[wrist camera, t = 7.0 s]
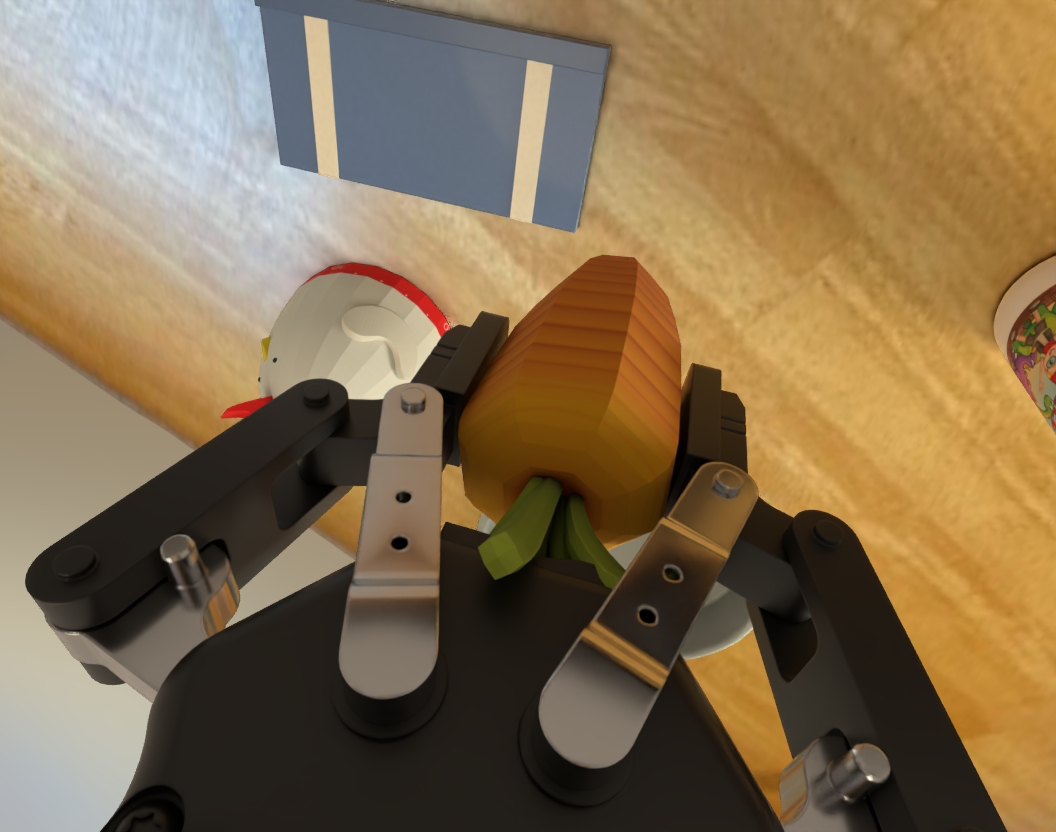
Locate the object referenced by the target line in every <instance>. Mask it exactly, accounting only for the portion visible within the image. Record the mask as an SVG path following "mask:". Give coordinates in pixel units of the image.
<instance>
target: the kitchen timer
mask: <svg viewBox="0 0 1056 832" xmlns="http://www.w3.org/2000/svg"><path fill="white" fill-rule="evenodd" d="M450 329H451V328H450V326H449V324H448V323H447V321H446V319H445V317H444V315H443V314H442V313H441V311H440V310H439V309H438V308H437V307H436V306H435V304H434V303H433V302H432V301H431V300H430V299H429V297H428V296H427V295H426V294H425V293H423V292H422V291H421V290H419V289H418V288H417V287H415V286H414V285H412V284H411V283H410V282H408V281H407V280H406V279H404V278H403V277H401V276H398V275H396V274H394V273H391V272H389V271H387V270H384V269H382V268H380V267H377V266H370V265H364V264H357V263H348V264H342V265H336V266H330V267H328V268H326V269H325V270H323V271H321V272H320V273H318V274H316V275H314V276H313V277H311V278H310V279H309V280H308V281H306V282H305V283H304V284H303V285H301V286H300V287H299V288H298V290H297V291H296V292H295V293H294V295H293V296H292V297H291V299H290V300H289V302H288V303H287V304H286V306H285V307H284V308H283V310H282V311H281V313H280V314H279V316H278V318H277V320H276V322H275V324H274V326H273V328H272V330H271V333H270V335H269V337H268V338H265V339H262V340H261V345H262V352H263V356H262V361H261V366H260V371H259V379H258V381H259V393H260V399H256V400H252V401H248V402H244V403H240V404H237V405H235V406H232V407H230V408H228V409H227V410H226V411H225V412H224V414H223V415H222V416H221V418H237V417H240V418H245V417H247V416H248V415H250V414H251V413H253V412H254V411H256V410H257V409H259V408H261V407H262V406H264V405H265V404H267V403H268V402H270V401H271V400H273V399H274V398H276V397H277V396H279V395H280V394H282V393H283V392H285V391H286V390H288V389H289V388H291V387H292V386H294V385H296V384H297V383H300V382H302V381H305V380H309V379H317V378H323V379H330V380H334V381H336V382H339V383H340V384H342V385H343V386H344V387H345V388H346V389H347V392H348V398H349V399H369V400H373V399H383V398H384V396H385V394H386V393H387V392H388V391H389V390H390V389H391V388H393V387H395V386H397V385H400V384H404V383H410V382H411V380H412V379H413V377H414V376H415V375H416V373H417V372H418V370H419V369H420V367H421V366H422V364H423V363H424V362H425V360H426V359H427V357H428V356H429V355H430V354H431V351H432V350H433V349H434V347H435V346H437V343H438V341H439V340H440V338H441V337H442V336H443V334H444V333H445V332H446V331H448V330H450Z"/></svg>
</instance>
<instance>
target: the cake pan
mask: <svg viewBox="0 0 1056 832" xmlns="http://www.w3.org/2000/svg"><path fill="white" fill-rule="evenodd" d="M495 525H496V524H495V523H494V522H493V521H492V520H490V519H489V518H488V517H487V516H486V515H485V514H483V513H482V516H481V517H480V520H479V523H478V526H477V531H480V532H484V533H487V534H489V533H490V532H491V531H492V529H493V528H494V527H495ZM650 534H651V532H650V533H647V534H645V535H643V536H640V537H638V538H636V539H633V540H631V541H629V542H626V543H624V544H622V545H619V546H617V547H615V548H613V549H610V550H608V552H609V553H610V554H611V555H612V556H613V557H614V558H615V559H616V561H617V562H618V563H619V564H620V565H621V566H622V567H623V568H624V569H625V570H626V569H627V568H628V566H629V565H630V563H631V562H632V560H633V559H634V557H635V556H636V554H637V553H638V551H639V550H640V548H641V547H642V545H643V544H644V542H645V541H646V539H647V538H648V536H649V535H650ZM752 629H753V626H752V623H751V620H750V616H749V613H748V610H747V607H746V600H745V598H744V597H742V596H740V595H739V594H737V593H735V592H733V591H732V590H730V589H728V588H727V587H725V586H723V585H722V584H720V583H718V582H716V583H715V585H714V587H713V589H712V591H711V592H710V594H709V596H708V598H707V600H706V602H705V604H704V606H703V608H702V610H701V612H700V614H699V616H698V618H697V620H696V622H695V624H694V626H693V628H692V630H691V632H690V633H689V635H688V637H687V639H686V641H685V643H684V645H683V647H682V649H681V651H680V653H681V655H682V656H683V658H684V660H689V659H694V658H699V657H703V656H706V655H710V654H713V653H715V652H718V651H721V650H723V649H725V648H727V647H729V646H731V645H733V644H735V643H736V642H738V641H739V640H741V639H742V638H743V637H745V636H746V635H747V634H748V633H749V632H750V631H751V630H752Z"/></svg>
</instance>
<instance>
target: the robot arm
mask: <svg viewBox="0 0 1056 832" xmlns="http://www.w3.org/2000/svg"><path fill="white" fill-rule="evenodd" d="M508 330H509V318H508V317H504V316H500V315H496V314H492V313H488V312H484V311H482V312H481V313H480V314H479V316H478V317H477V319H476V320H475V322H474V323H473V325H472V327H467V326H463V325H457V326H455V327H453V328H452V329H450V330H448V331H446V332H445V333H444V334H443V336H442V337H441V338H440V340H439V341H438V343H437V346H435V347H434V349H433V350H432V351H431V354H430V355H429V356H428V357H427V359H426V360H425V362H424V363H423V364H422V366H421V367H420V369H419V370H418V372H417V373H416V375H415V376H414V377H413V379H412V380H411V382H410V383H404V384H400V385H397V386H395V387H393V388H391V389H390V390H389V391H388V392H387V393H386V394H385V396H384V398H383V399H373V400H369V399H349V398H348V392H347V389H346V388H345V387H344V386H343V385H342V384H340V383H339V382H336V381H334V380H330V379H323V378H317V379H309V380H305V381H302V382H300V383H297V384H296V385H294V386H292V387H291V388H289V389H288V390H286V391H285V392H283V393H282V394H280V395H279V396H277V397H276V398H274V399H273V400H271V401H270V402H268V403H267V404H265V405H264V406H262V407H261V408H259V409H257V410H256V411H254V412H253V413H251V414H250V415H248V416H247V417H245V418H244V419H242V420H241V421H239V422H238V423H236V424H235V425H233V426H232V427H230V428H229V429H227V430H226V431H224V432H223V433H221V434H220V435H218V436H217V437H215V438H214V439H212V440H211V441H209V442H208V443H206V444H204V445H203V446H201V447H200V448H198V449H197V450H195V451H194V452H192V453H191V454H189V455H188V456H186V457H185V458H183V459H182V460H180V461H179V462H177V463H176V464H174V465H173V466H171V467H170V468H168V469H167V470H165V471H164V472H162V473H161V474H159V475H158V476H156V477H155V478H153V479H151V480H150V481H148V482H147V483H145V484H144V485H142V486H141V487H140V488H138V489H136V490H135V491H133V492H132V493H130V494H129V495H127V496H126V497H124V498H123V499H121V500H120V501H118V502H117V503H115V504H114V505H112V506H111V507H109V508H108V509H106V510H105V511H103V512H102V513H100V514H98V515H97V516H96V517H94V518H92V519H91V520H89V521H88V522H87V523H85V524H83V525H82V526H80V527H79V528H77V529H76V530H74V531H73V532H71V533H70V534H68V535H67V536H65V537H64V538H62V539H61V540H59V541H58V542H56V543H55V544H53V545H52V546H50V547H49V548H47V549H46V550H45V551H43V552H42V553H41V554H40V555H39V556H38V557H37V558H36V559H35V560H34V562H33V563H32V564H31V566H30V567H29V569H28V572H27V574H26V579H25V584H26V588H27V590H28V592H29V593H30V595H31V596H32V597H33V599H34V600H35V601H36V603H37V604H38V606H39V607H40V608H41V610H42V611H43V612H44V614H45V619H46V621H47V623H48V624H49V626H50V627H51V628H52V629H53V631H54V632H55V634H56V635H57V636H58V638H59V639H60V640H61V642H62V643H63V644H64V646H65V647H66V648H67V650H68V651H69V652H70V654H71V655H72V656H73V657H74V658H75V659H76V660H78V661H80V663H81V664H82V665H83V667H84V668H85V669H86V671H87V672H88V674H89V675H90V676H91V677H92V678H93V679H94V680H95V681H97V682H99V683H102V684H106V685H119V684H124V683H127V684H128V685H130V686H131V687H132V688H133V689H135V690H136V691H137V692H139V693H140V694H141V695H142V696H144V697H145V698H146V699H148V700H149V701H150V702H152V703H153V704H152V707H151V710H150V715H149V719H148V724H147V731H146V738H145V743H144V747H143V750H142V754H141V758H140V761H139V764H138V767H137V769H136V772H135V775H134V778H133V780H132V782H131V784H130V786H129V789H128V791H127V793H126V795H125V797H124V799H123V801H122V803H121V804H120V806H119V808H118V809H117V811H116V812H115V813H114V815H113V816H112V818H111V819H110V820H109V821H108V823H107V824H106V825H105V826H104V827H103V829H102V830H101V831H100V832H1007V830H1006V828H1005V826H1004V824H1003V822H1002V820H1001V818H1000V816H999V814H998V812H997V810H996V808H995V806H994V804H993V802H992V800H991V798H990V796H989V794H988V792H987V790H986V789H985V787H984V785H983V783H982V781H981V779H980V777H979V775H978V773H977V771H976V769H975V767H974V765H973V763H972V761H971V759H970V757H969V755H968V753H967V751H966V749H965V747H964V745H963V743H962V741H961V739H960V737H959V735H958V733H957V732H956V730H955V728H954V726H953V724H952V722H951V720H950V718H949V716H948V714H947V712H946V710H945V708H944V706H943V704H942V702H941V700H940V698H939V696H938V694H937V692H936V690H935V688H934V686H933V684H932V682H931V680H930V678H929V677H928V675H927V673H926V671H925V669H924V667H923V665H922V663H921V661H920V659H919V657H918V655H917V653H916V651H915V649H914V647H913V645H912V643H911V641H910V639H909V637H908V635H907V633H906V631H905V629H904V627H903V625H902V623H901V622H900V620H899V618H898V616H897V614H896V612H895V610H894V608H893V606H892V604H891V602H890V600H889V598H888V596H887V594H886V592H885V590H884V588H883V586H882V584H881V582H880V580H879V578H878V576H877V574H876V572H875V570H874V568H873V567H872V565H871V563H870V561H869V559H868V557H867V555H866V553H865V551H864V549H863V547H862V545H861V543H860V541H859V539H858V537H857V536H856V534H855V533H854V531H853V530H852V529H851V528H850V527H849V526H848V525H847V524H846V523H844V522H843V521H842V520H840V519H839V518H837V517H835V516H833V515H831V514H829V513H826V512H822V511H818V510H805V511H802V512H800V513H798V514H797V515H796V516H795V517H794V518H793V517H791V516H789V515H787V514H785V513H783V512H781V511H779V510H777V509H776V508H774V507H772V506H770V505H769V504H767V503H766V502H765V501H763V500H762V499H761V498H760V497H759V496H758V494H759V492H758V488H757V485H756V483H755V482H754V480H753V479H752V478H751V477H750V476H749V475H748V468H747V443H746V436H745V435H746V425H745V423H746V417H745V407H744V406H743V404H742V402H741V401H740V399H739V397H738V396H737V394H735V393H731V392H727V391H723V390H721V370H719V369H715V368H711V367H707V366H703V365H699V364H695V363H692V364H691V366H690V368H689V371H688V374H687V376H686V379H685V382H684V385H683V387H682V390H681V402H680V423H679V442H678V447H677V453H676V458H675V463H674V469H673V474H672V480H671V485H670V491H669V496H668V501H667V506H666V511H665V515H664V516H663V517H662V518H661V519H660V520H659V522H658V523H657V525H656V526H655V528H654V529H653V531H652V532H651V534H650V535H649V536H648V538H647V539H646V541H645V542H644V544H643V545H642V547H641V548H640V550H639V551H638V553H637V554H636V556H635V557H634V559H633V560H632V562H631V563H630V565H629V566H628V568H627V569H626V571H625V572H624V574H623V575H622V577H621V578H620V580H619V581H618V583H617V584H616V585H615V587H614V588H613V590H612V589H611V588H609V587H606V586H605V585H604V583H603V582H602V580H601V579H600V577H599V575H598V572H597V569H596V567H595V564H591V563H588V562H585V561H581V560H572V559H557V558H542V557H533V558H532V559H531V560H530V561H529V562H528V563H527V564H526V565H524V566H523V567H522V568H521V569H520V570H519V571H517V572H514V573H511V574H509V575H506V576H504V577H501V578H499V579H496V580H495V579H494V578H493V576H492V575H491V573H490V572H489V571H488V569H487V568H486V566H485V565H484V562H483V560H482V557H481V555H480V552H479V549H478V547H479V546H480V545H481V544H482V543H483V542H485V541H486V540H487V539H488V538H489V537H490V536H491V535H490V534H487V533H484V532H480V531H477V530H473V529H470V528H466V527H463V526H459V525H456V524H452V523H449V522H445V524H444V527H443V529H442V531H441V494H442V472H443V470H444V468H445V466H446V464H450V465H454V466H458V467H459V466H460V464H461V456H460V448H459V439H458V430H459V421H460V418H461V415H462V412H463V410H464V408H465V407H466V405H467V403H468V401H469V400H470V398H471V396H472V394H473V393H474V391H475V389H476V388H477V386H478V384H479V383H480V381H481V379H482V378H483V376H484V374H485V373H486V371H487V369H488V367H489V366H490V364H491V363H492V361H493V359H494V358H495V356H496V355H497V353H498V352H499V350H500V349H501V347H502V346H503V344H504V343H505V341H506V340H507V338H508ZM353 486H367V487H366V493H365V500H364V507H363V514H362V520H361V527H360V534H359V541H358V548H357V554H356V561H355V562H353V563H351V564H349V565H347V566H345V567H343V568H341V569H339V570H337V571H335V572H333V573H331V574H330V575H328V576H326V577H324V578H322V579H320V580H318V581H316V582H314V583H312V584H310V585H308V586H306V587H304V588H303V589H301V590H299V591H297V592H295V593H293V594H291V595H289V596H287V597H285V598H283V599H281V600H279V601H278V602H276V603H274V604H272V605H270V606H268V607H266V608H264V609H262V610H260V611H259V612H256V613H254V614H253V615H251V616H249V617H247V618H245V619H243V620H241V621H239V622H237V623H235V624H233V625H231V626H229V627H227V628H226V629H225V627H226V624H227V623H228V622H229V620H230V619H231V618H232V617H233V616H234V614H235V612H236V611H237V609H238V606H239V603H240V592H239V590H240V589H241V588H242V587H243V586H245V585H246V584H247V583H248V582H249V581H250V580H251V579H252V578H253V577H254V576H255V575H257V574H258V573H259V572H260V571H261V570H262V569H263V568H264V567H266V566H267V565H268V564H269V563H270V562H271V561H272V560H273V559H274V558H275V557H277V556H278V555H279V554H280V553H281V552H282V551H283V550H284V549H286V548H287V547H288V546H289V545H290V544H291V543H292V542H293V541H294V540H296V539H297V538H298V537H299V536H300V535H301V534H302V533H303V532H304V531H305V530H307V529H308V528H309V527H310V526H311V525H312V524H313V523H314V522H315V521H317V520H318V519H319V518H320V517H321V516H322V515H323V514H324V513H325V512H327V511H328V510H329V509H330V508H331V507H332V506H333V505H334V504H335V503H337V502H338V501H339V500H340V499H341V498H342V497H343V496H344V495H345V494H347V493H348V492H349V491H350V490H351V489H352V487H353ZM716 582H718V583H720V584H722V585H723V586H725V587H727V588H728V589H730V590H732V591H733V592H735V593H737V594H739V595H740V596H742V597H744V598H745V600H746V607H747V610H748V613H749V616H750V620H751V623H752V626H753V630H754V633H755V636H756V640H757V643H758V646H759V649H760V653H761V656H762V659H763V663H764V666H765V669H766V673H767V676H768V679H769V682H770V686H771V689H772V692H773V696H774V699H775V702H776V706H777V709H778V712H779V715H780V719H781V722H782V725H783V729H784V732H785V735H786V739H787V742H788V745H789V748H790V752H791V755H792V758H793V760H792V761H791V762H790V763H789V764H788V765H787V766H786V767H785V768H784V770H783V771H782V774H781V776H780V781H779V793H780V800H781V818H780V821H779V819H778V817H777V816H776V814H775V812H774V810H773V809H772V807H771V805H770V804H769V802H768V800H767V799H766V797H765V795H764V793H763V792H762V790H761V788H760V787H759V785H758V783H757V782H756V780H755V778H754V777H753V775H752V773H751V771H750V770H749V768H748V766H747V765H746V763H745V761H744V760H743V758H742V756H741V754H740V753H739V751H738V749H737V748H736V746H735V744H734V743H733V741H732V739H731V738H730V736H729V734H728V732H727V731H726V729H725V727H724V726H723V724H722V722H721V721H720V719H719V717H718V716H717V714H716V712H715V710H714V709H713V707H712V705H711V704H710V702H709V700H708V699H707V697H706V695H705V693H704V692H703V690H702V688H701V687H700V685H699V683H698V682H697V680H696V678H695V677H694V675H693V673H692V671H691V670H690V668H689V666H688V665H687V663H686V661H685V660H684V658H683V656H682V655H681V653H680V651H681V649H682V647H683V645H684V643H685V641H686V639H687V637H688V635H689V633H690V632H691V630H692V628H693V626H694V624H695V622H696V620H697V618H698V616H699V614H700V612H701V610H702V608H703V606H704V604H705V602H706V600H707V598H708V596H709V594H710V592H711V591H712V589H713V587H714V585H715V583H716Z"/></svg>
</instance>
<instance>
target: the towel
mask: <svg viewBox="0 0 1056 832" xmlns="http://www.w3.org/2000/svg"><path fill="white" fill-rule="evenodd" d="M255 5H256V6H260V12H261V19H262V27H263V34H264V42H265V49H266V57H267V65H268V72H269V80H270V87H271V95H272V102H273V110H274V118H275V125H276V133H277V140H278V148H279V155H280V163H281V165H284V166H289V167H293V168H297V169H301V170H306V171H310V172H314V173H319V175H323V176H327V177H332V178H336V179H339V178H340V179H345V180H349V181H353V182H358V183H362V184H366V185H371V186H375V187H379V188H384V189H388V190H392V191H396V192H401V193H405V194H409V195H414V196H418V197H422V198H427V199H431V200H435V201H440V202H444V203H448V204H453V205H457V206H461V207H466V208H470V209H474V210H479V211H483V212H487V213H492V214H496V215H500V216H504V217H509V218H510V219H513V220H517V221H522V222H526V223H530V224H531V223H535V224H539V225H543V226H548V227H552V228H556V229H561V230H565V231H569V232H574V233H575V232H576V230H577V228H578V223H579V217H580V212H581V207H582V201H583V196H584V191H585V185H586V180H587V175H588V169H589V164H590V159H591V154H592V148H593V143H594V138H595V132H596V127H597V122H598V116H599V111H600V106H601V100H602V95H603V90H604V84H605V79H606V74H607V68H608V63H609V58H610V52H611V45H606V44H600V43H595V42H590V41H585V40H580V39H574V38H569V37H564V36H559V35H554V34H549V33H543V32H538V31H533V30H528V29H523V28H517V27H512V26H507V25H502V24H497V23H492V22H486V21H481V20H476V19H471V18H466V17H460V16H455V15H450V14H445V13H440V12H435V11H429V10H424V9H419V8H414V7H409V6H403V5H398V4H393V3H388V2H383V1H378V0H255Z"/></svg>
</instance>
